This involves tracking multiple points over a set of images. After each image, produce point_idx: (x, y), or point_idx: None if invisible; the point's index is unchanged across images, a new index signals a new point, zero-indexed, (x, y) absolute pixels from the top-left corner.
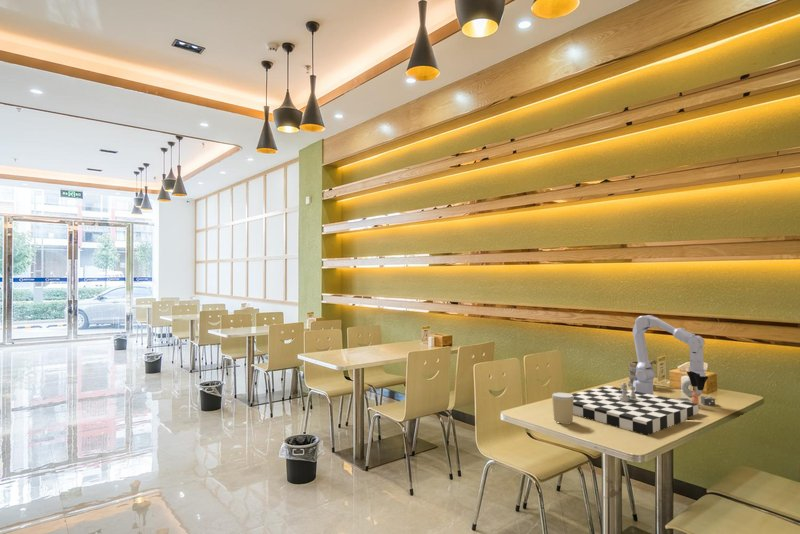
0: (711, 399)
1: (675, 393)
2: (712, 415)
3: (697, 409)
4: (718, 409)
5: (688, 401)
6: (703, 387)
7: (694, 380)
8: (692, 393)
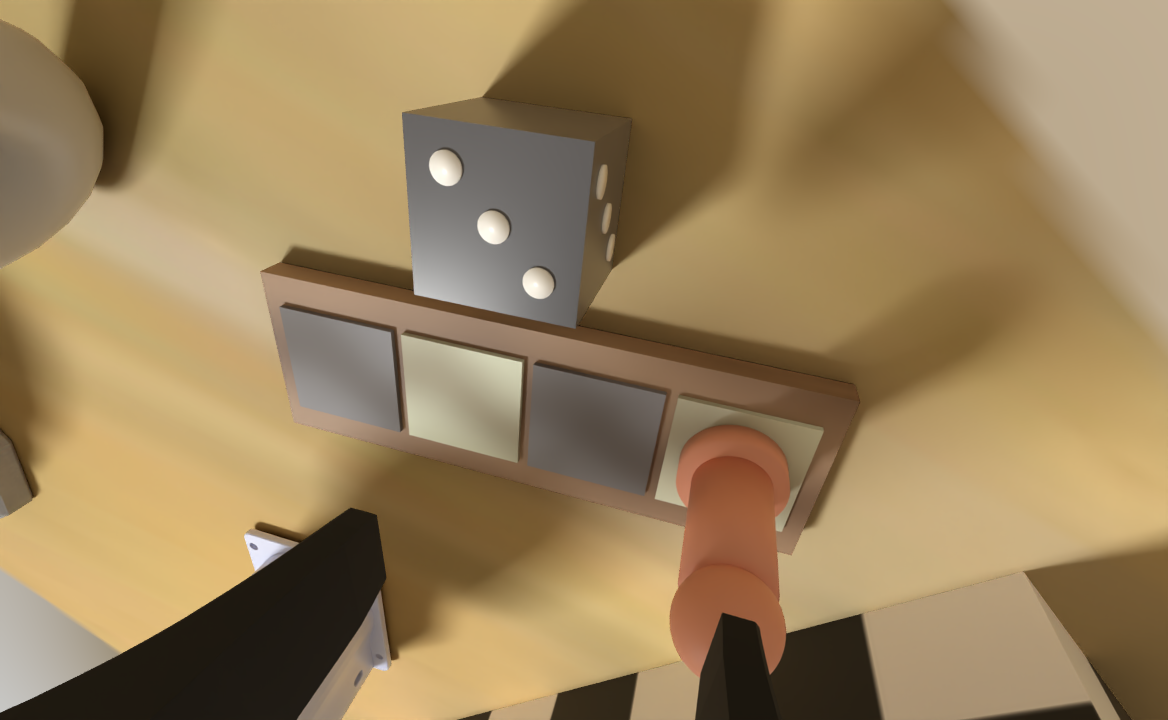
0: (591, 206)
1: None
2: (1046, 402)
3: (1077, 670)
4: (707, 96)
5: (438, 383)
6: (774, 700)
7: (269, 677)
8: None
